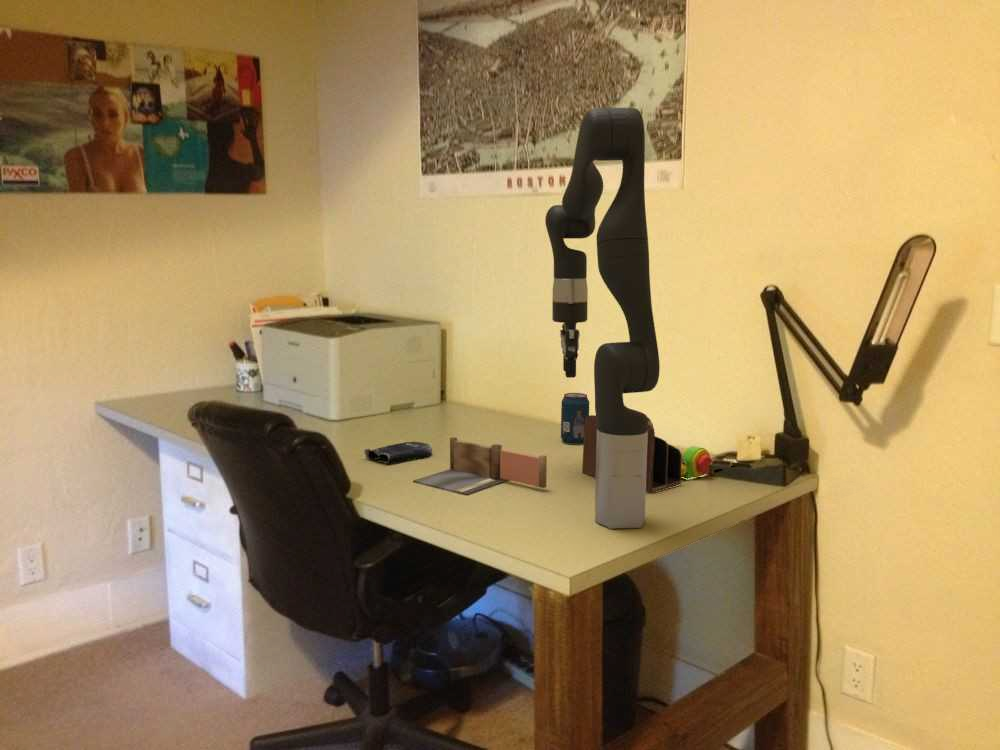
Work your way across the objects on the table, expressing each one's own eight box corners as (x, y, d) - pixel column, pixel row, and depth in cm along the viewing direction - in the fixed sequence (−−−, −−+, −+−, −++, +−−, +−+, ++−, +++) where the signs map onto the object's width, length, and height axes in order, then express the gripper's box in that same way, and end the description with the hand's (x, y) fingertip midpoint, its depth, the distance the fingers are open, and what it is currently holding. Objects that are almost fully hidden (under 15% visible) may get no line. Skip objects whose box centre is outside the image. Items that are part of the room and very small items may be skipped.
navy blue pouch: (392, 474, 205) (440, 453, 216) (386, 450, 204) (436, 431, 215) (367, 471, 212) (415, 451, 222) (362, 449, 211) (410, 429, 221)
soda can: (573, 437, 234) (574, 391, 232) (594, 441, 229) (595, 394, 227) (555, 441, 229) (555, 394, 227) (576, 446, 224) (577, 398, 222)
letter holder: (650, 495, 185) (652, 427, 183) (581, 474, 200) (582, 411, 198) (681, 486, 192) (684, 420, 189) (612, 466, 207) (614, 405, 204)
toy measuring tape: (665, 478, 197) (666, 448, 196) (720, 463, 210) (721, 435, 209) (689, 484, 192) (690, 454, 191) (743, 468, 205) (745, 440, 204)
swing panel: (499, 478, 193) (499, 448, 192) (504, 476, 195) (504, 447, 193) (543, 488, 186) (543, 457, 185) (547, 486, 187) (548, 456, 186)
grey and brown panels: (512, 479, 195) (513, 445, 194) (466, 495, 184) (466, 459, 183) (458, 466, 205) (458, 434, 204) (411, 481, 193) (411, 447, 192)
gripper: (551, 297, 203) (550, 369, 205) (553, 301, 189) (553, 379, 191) (584, 297, 203) (584, 369, 205) (590, 301, 189) (589, 379, 191)
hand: (569, 374), depth 198 cm, fingers open, 8 cm apart
